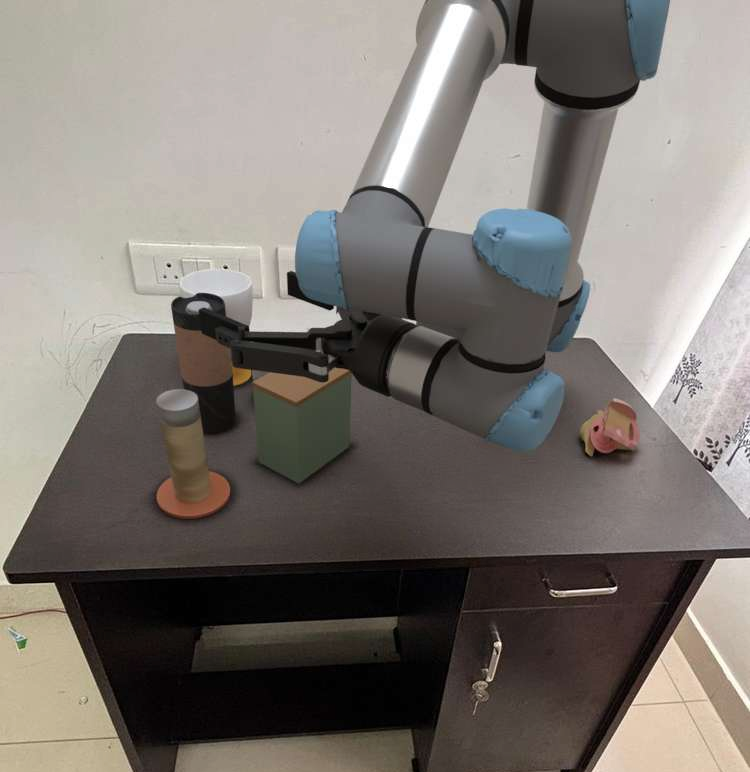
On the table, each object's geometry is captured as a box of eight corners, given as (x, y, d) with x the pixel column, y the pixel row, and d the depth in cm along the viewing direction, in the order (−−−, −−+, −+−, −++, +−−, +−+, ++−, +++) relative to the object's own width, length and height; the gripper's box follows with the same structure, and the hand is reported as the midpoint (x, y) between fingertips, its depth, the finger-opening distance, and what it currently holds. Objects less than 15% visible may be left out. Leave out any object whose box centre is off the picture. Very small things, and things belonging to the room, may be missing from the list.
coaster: (209, 464, 94) (209, 461, 94) (243, 500, 88) (243, 497, 88) (145, 489, 89) (144, 486, 89) (177, 529, 83) (176, 526, 83)
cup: (179, 381, 111) (163, 287, 100) (216, 353, 120) (206, 263, 109) (236, 398, 108) (227, 302, 97) (271, 368, 117) (265, 277, 106)
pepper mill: (208, 496, 92) (253, 469, 81) (181, 514, 88) (224, 488, 78) (151, 413, 89) (190, 374, 79) (121, 428, 86) (157, 390, 75)
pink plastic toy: (560, 448, 103) (580, 393, 104) (603, 470, 107) (622, 417, 108) (600, 450, 95) (622, 391, 95) (645, 474, 99) (666, 417, 99)
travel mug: (226, 437, 99) (212, 317, 86) (181, 430, 100) (160, 310, 87) (244, 412, 105) (233, 296, 92) (200, 405, 106) (184, 289, 93)
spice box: (349, 446, 99) (352, 368, 90) (298, 484, 92) (296, 402, 83) (310, 428, 103) (309, 350, 94) (258, 462, 95) (252, 381, 86)
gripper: (324, 451, 57) (166, 372, 66) (462, 351, 73) (320, 298, 81) (324, 378, 52) (153, 303, 61) (472, 287, 68) (319, 238, 76)
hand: (248, 300), depth 71 cm, fingers open, 13 cm apart
